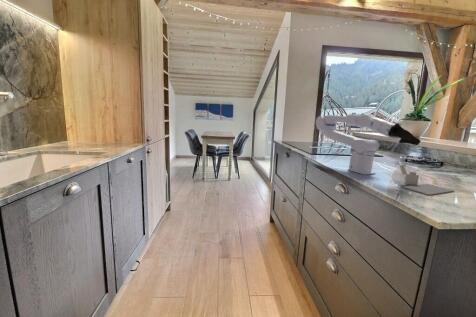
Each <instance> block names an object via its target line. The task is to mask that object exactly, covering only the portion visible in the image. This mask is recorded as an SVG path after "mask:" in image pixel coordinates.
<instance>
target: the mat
mask: <svg viewBox="0 0 476 317" xmlns="http://www.w3.org/2000/svg"><path fill="white" fill-rule="evenodd" d="M402 188H403V189H405V190H408V191H412V192H416V193H418V194H422V195H425V196H433V195H434V196H436V195H441V194H446V193H453V192H455V190H454V189H450V188H445V187H442V186H438V185H436V184H435V185H434V184H430V183H422V184H417V185H409V186H408V185H406V186H405V185H404V186H402Z"/></svg>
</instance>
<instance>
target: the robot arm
mask: <svg viewBox="0 0 476 317" xmlns="http://www.w3.org/2000/svg"><path fill="white" fill-rule="evenodd" d="M338 123H346V125H347V126H351V127H360V128H367V129H370V130H372V131H374V132H376V133H379V134H380V135H383V136H385V137H388V138H389V139H390V140H391V139H392V140H393V139H396V140H397V139H399V141H398V143H399V144H409V145H413V146H418V145H420V143H421V141H422V140H421V139H419V138H417V137H416V136H414V134H413V133H411V131H408V130H406V129H405V128H403V127H402V123H401V122H395V123H393V122H390V121H387V120H385V119H382V118H381V117H377V116H376V115H374V114H371V113H370V114H369V113H367V114H366V113H364V112H362V113H357V112H351V113H349V114H347V115H345V116H344V115H336V114H335V115H333V114H332V115H322V116H321V115H318V117H316V120H315V126H316V129H317V130H318V131H320V132H321V133H322V134H323V135H324V136H325V138H328V139H329V140H332V141H335V142H338V143H341V144H343V145H346V146H348V147H350V148H351V149H352V150H354V151H355V152H353V153H351V155H350V160H349V166H348V168H347V171H350V172H353V173H357V174H360V175H373V174H376V172H374V171H372V169H373V164H374V159H375V158H374V157H375V155H376V152H378V151H379V148H380V144H379V142H378V141H377V140H375V139H366V138H359V137H357V136H353V135H350V134H348V133H345V132H341V131H338V130H337V124H338Z"/></svg>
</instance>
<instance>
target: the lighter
mask: <svg viewBox="0 0 476 317" xmlns="http://www.w3.org/2000/svg"><path fill="white" fill-rule="evenodd" d="M398 166H399V169H400V171H401V174H402V175H405V176H404V181H403V184H405V185H409V184H410V185H409V186H413V185H418V183H419V177H420V174H418V173H417V171H412V170H411V171H410V170H409V172H407V169H406V167H405V164H404V163H399V164H398Z"/></svg>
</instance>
